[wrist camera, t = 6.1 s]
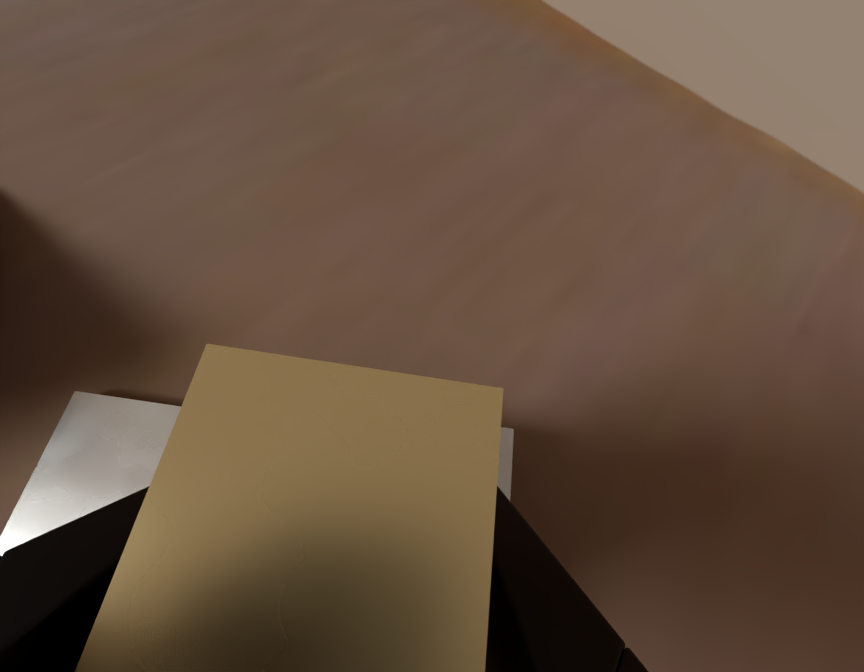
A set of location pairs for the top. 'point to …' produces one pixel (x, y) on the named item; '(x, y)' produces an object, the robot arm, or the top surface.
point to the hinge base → (114, 462)
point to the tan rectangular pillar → (310, 526)
